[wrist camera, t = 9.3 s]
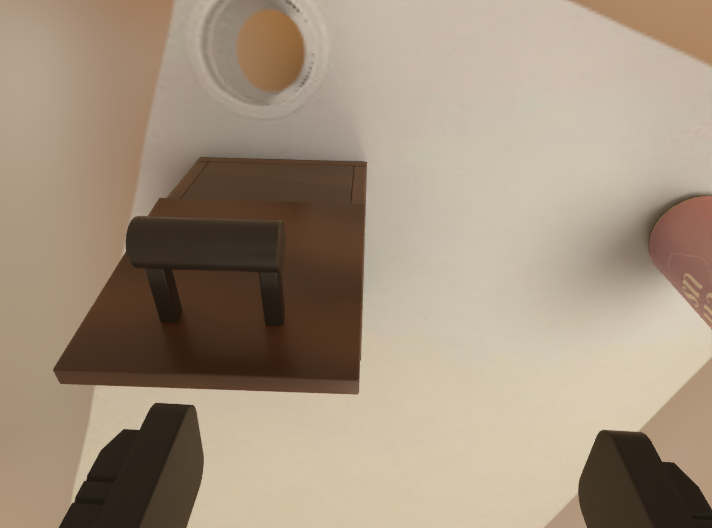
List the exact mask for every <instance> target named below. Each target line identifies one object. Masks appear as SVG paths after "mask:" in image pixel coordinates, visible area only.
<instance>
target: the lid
mask: <svg viewBox="0 0 712 528" xmlns="http://www.w3.org/2000/svg"><path fill="white" fill-rule="evenodd" d="M364 232H365V204H346V203H312V202H278V201H244V200H210V199H176V198H159V199H158V201H157V202H156V204H155V206H154V207H153V209H152V211H151V212H150V214H149V215H148V216H137V217H134V218H133V219H132V220H131V222H130V224H129V226H128V230H127V234H126V252H125V254H124V256H123V257H122V259H121V261H120V262H119V264H118V265H117V267H116V269H115V270H114V272H113V273H112V275H111V277H110V278H109V280H108V282H107V283H106V285H105V287H104V288H103V290H102V291H101V293H100V294H99V296H98V298H97V299H96V301H95V303H94V305H93V306H92V307H91V309H90V311H89V312H88V314H87V315H86V317H85V319H84V320H83V322H82V323H81V325H80V327H79V328H78V330H77V332H76V333H75V335H74V336H73V338H72V340H71V341H70V343H69V345H68V346H67V348H66V349H65V351H64V353H63V354H62V356H61V357H60V359H59V361H58V362H57V364H56V366H55V367H54V369H53V371H54V373H55V375H56V377H57V378H58V381H59V382H60V383H61V384H79V385H106V386H135V387H163V388H191V389H219V390H247V391H276V392H304V393H332V394H358V393H359V374H360V346H361V317H362V289H363V260H364Z"/></svg>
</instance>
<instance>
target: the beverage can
mask: <svg viewBox="0 0 712 528" xmlns="http://www.w3.org/2000/svg"><path fill="white" fill-rule="evenodd" d="M649 255H650V258H651V260H652V262H653V263H654V265H655V266H656V267H657V268H658V269H659V270H660V271H661V273H662V274H663V275H664V276H665V277H666V278H667V279H668V280H669V282H670V283H671V284H672V285H673V286H674V287H675V288H676V290H677V291H678V292H679V293H680V294H681V295H682V296H683V297H684V299H685V300H686V301H687V302H688V303H689V304H690V305H691V306H692V308H693V309H694V310H695V311H696V312H697V313H698V314H699V315H700V317H701V318H702V319H703V320H704V321H705V322H706V323H707V324H708V326H709V327H710V328H711V329H712V196H700V197H695V198H691V199H688V200H685V201H682V202H680V203H678V204H676V205H675V206H673V207H672V208H670V209H669V210H668V211H666V212H665V213H664V214H663V215H662V216H661V217H660V218H659V220H658V221H657V223H656V224H655V226H654V228H653V230H652V232H651V236H650V240H649Z"/></svg>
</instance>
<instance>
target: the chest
mask: <svg viewBox="0 0 712 528" xmlns="http://www.w3.org/2000/svg"><path fill="white" fill-rule="evenodd" d="M366 179H367V162H352V161H316V160H280V159H245V158H209V157H200V158H199V159H198V161H197V162H196V163H195V165H194V166H193V167H192V168H191V169H190V171H189V172H188V173H187V174H186V175H185V177H184V178H183V179H182V180H181V181H180V183H179V184H178V185H177V186H176V187H175V189H174V190H173V191H172V192H171V193H170V195H169V196H168V197H167V198H176V199H210V200H244V201H278V202H312V203H346V204H365V212H366ZM364 245H365V232H364ZM363 278H364V260H363ZM362 310H363V289H362ZM361 339H362V317H361ZM360 360H361V346H360Z"/></svg>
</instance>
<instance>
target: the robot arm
mask: <svg viewBox="0 0 712 528" xmlns="http://www.w3.org/2000/svg"><path fill="white" fill-rule="evenodd" d="M203 465H204V456H203V449H202V443H201V437H200V431H199V425H198V419H197V412H196V409H195V407H194V406H193V405H182V404H165V403H155V404H154V405H153V406H152V407H151V408H150V410H149V412H148V414H147V416H146V418H145V420H144V422H143V424H142V426H141V428H140V430H128V429H123V430H122V431H121V432H120V433H119V434H118V435H117V436H116V437H115V438H114V439H113V440H112V441H111V442H110V443H108V444H107V445H106V446H105V447H104V448H103V449H102V450H101V451H100V453H99V455H98V457H97V459H96V461H95V462H94V464H93V466H92V468H91V470H90V472H89V473H88V475H87V480H86V481H84V483H83V484H82V486H81V488H80V490H79V492H78V493H77V495H76V497H75V502H74V503H72V504H71V506H70V508H69V510H68V512H67V514H66V516H65V517H64V519H63V521H62V523H61V525H60V527H59V528H186V527H187V524H188V521H189V518H190V515H191V512H192V509H193V506H194V503H195V500H196V497H197V494H198V491H199V487H200V484H201V479H202V474H203ZM578 493H579V503H580V507H581V511H582V514H583V517H584V520H585V523H586V526H587V528H712V509H711V507H710V506H709V504H708V502H707V501H706V499H705V497H704V495H703V494H702V492H701V490H700V489H699V487H698V486H697V485H696V484H695V483H694V482H693V481H692V480H691V479H690V478H689V477H688V476H687V475H686V474H685V473H684V472H683V471H682V470H681V469H680V468H679V467H678V466H677V465H676V464H675V463H671V462H662V461H661V459H660V457H659V455H658V453H657V452H656V450H655V448H654V446H653V444H652V442H651V441H650V439H649V438H648V437H647V435H645V434H644V433H642V432H629V431H612V430H602V431H600V432H599V433H598V435H597V437H596V439H595V442H594V444H593V447H592V449H591V452H590V454H589V457H588V459H587V462H586V464H585V467H584V469H583V472H582V474H581V477H580V480H579V488H578Z"/></svg>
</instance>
